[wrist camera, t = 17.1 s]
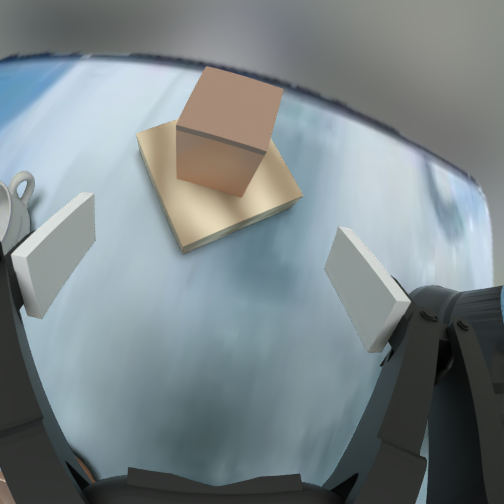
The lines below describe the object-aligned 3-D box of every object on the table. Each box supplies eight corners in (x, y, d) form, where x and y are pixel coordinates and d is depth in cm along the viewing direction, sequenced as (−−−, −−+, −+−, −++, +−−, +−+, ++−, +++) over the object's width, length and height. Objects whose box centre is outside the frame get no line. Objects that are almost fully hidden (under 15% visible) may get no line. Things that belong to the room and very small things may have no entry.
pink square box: (257, 143, 36) (283, 89, 26) (241, 197, 34) (266, 151, 24) (197, 125, 35) (206, 66, 24) (176, 178, 33) (176, 124, 22)
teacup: (-1, 288, 29) (-33, 281, 21) (-22, 227, 29) (-51, 212, 21) (66, 230, 33) (42, 210, 25) (40, 172, 33) (17, 146, 25)
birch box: (240, 119, 42) (247, 100, 37) (289, 208, 41) (303, 195, 36) (140, 153, 38) (136, 133, 33) (182, 255, 36) (182, 246, 32)
